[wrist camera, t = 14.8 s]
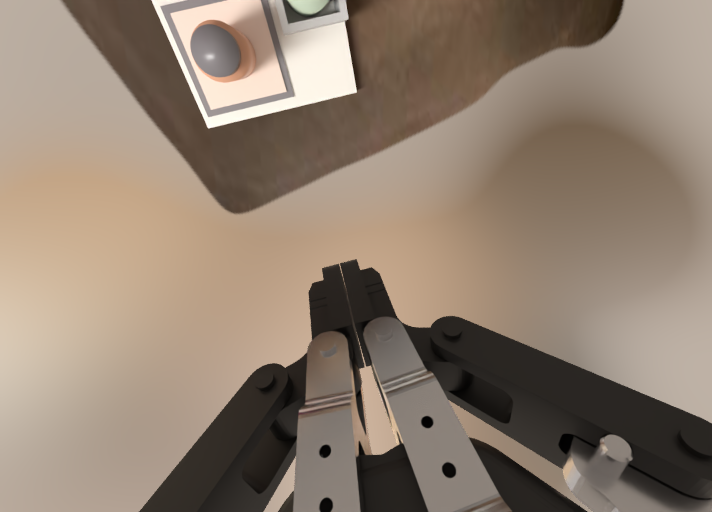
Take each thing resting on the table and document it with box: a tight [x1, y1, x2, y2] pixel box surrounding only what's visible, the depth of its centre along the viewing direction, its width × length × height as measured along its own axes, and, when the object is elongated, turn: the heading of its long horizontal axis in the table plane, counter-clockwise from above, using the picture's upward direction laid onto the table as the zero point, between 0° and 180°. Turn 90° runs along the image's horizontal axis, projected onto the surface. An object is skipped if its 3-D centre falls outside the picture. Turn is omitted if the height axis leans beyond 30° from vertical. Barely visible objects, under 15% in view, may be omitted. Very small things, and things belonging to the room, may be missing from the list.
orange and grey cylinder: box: [190, 20, 256, 83], centre depth 26 cm, size 4×4×8 cm
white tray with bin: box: [152, 0, 357, 128], centre depth 28 cm, size 16×12×4 cm
